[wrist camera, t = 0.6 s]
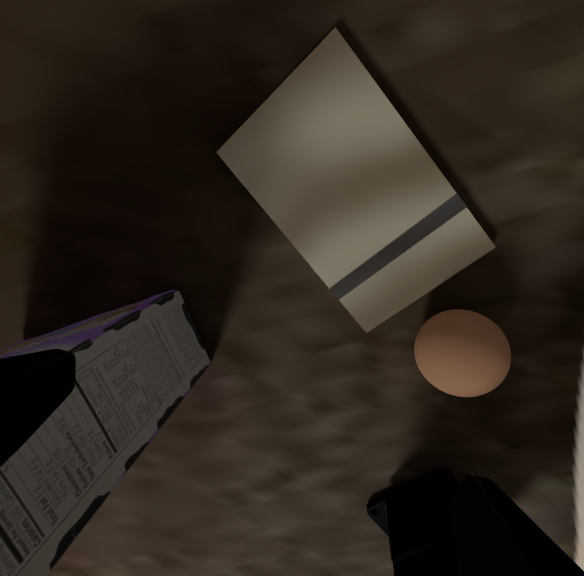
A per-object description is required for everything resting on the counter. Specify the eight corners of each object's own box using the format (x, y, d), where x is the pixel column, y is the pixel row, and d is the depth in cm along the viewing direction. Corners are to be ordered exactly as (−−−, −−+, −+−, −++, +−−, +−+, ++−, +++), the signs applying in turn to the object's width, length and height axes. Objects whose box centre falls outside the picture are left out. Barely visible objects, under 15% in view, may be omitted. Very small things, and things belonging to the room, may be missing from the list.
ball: (504, 341, 19) (550, 386, 14) (435, 380, 20) (459, 431, 16) (459, 282, 18) (493, 311, 14) (392, 326, 19) (404, 365, 15)
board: (490, 245, 17) (496, 247, 16) (365, 328, 20) (366, 333, 19) (335, 32, 15) (335, 26, 15) (220, 153, 18) (215, 152, 17)
